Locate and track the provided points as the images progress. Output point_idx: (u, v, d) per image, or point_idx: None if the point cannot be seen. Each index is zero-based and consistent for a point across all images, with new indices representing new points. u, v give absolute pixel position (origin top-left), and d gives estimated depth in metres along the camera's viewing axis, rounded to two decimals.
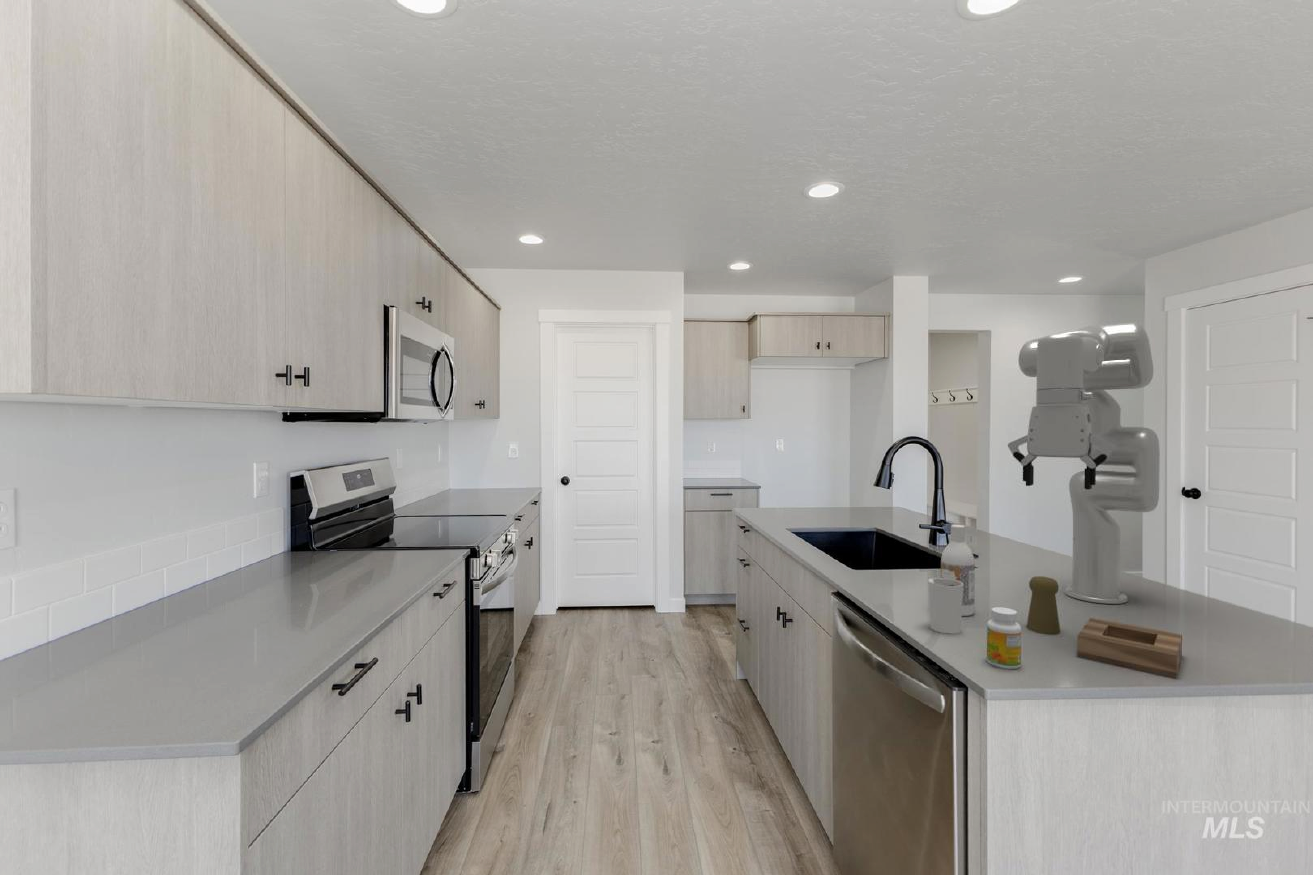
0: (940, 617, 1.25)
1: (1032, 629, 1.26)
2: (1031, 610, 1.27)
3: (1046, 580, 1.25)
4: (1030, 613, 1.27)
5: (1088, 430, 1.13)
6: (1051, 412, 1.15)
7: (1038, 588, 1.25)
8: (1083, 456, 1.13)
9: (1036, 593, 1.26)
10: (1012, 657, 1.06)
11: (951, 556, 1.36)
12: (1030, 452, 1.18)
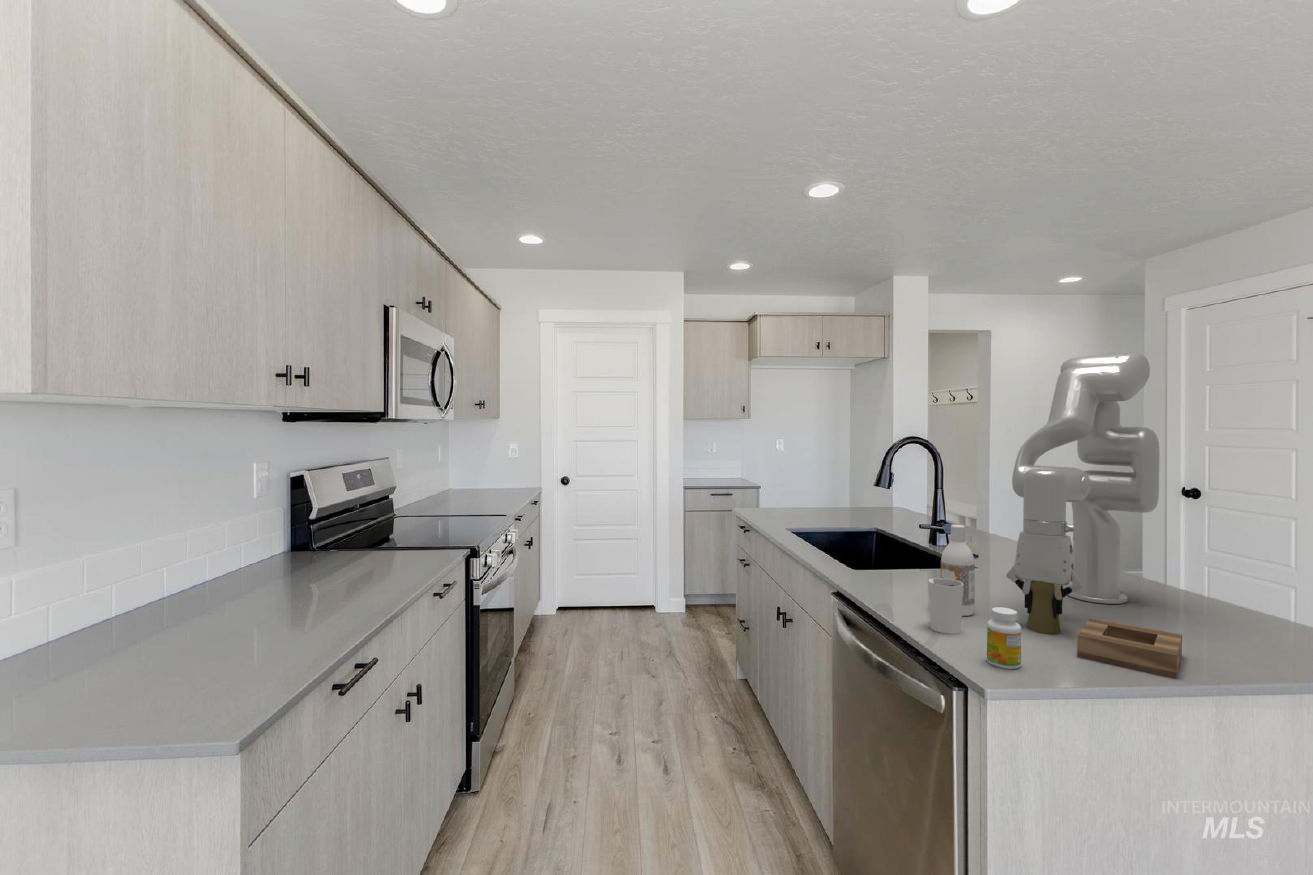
0: (940, 617, 1.25)
1: (1032, 629, 1.26)
2: (1031, 610, 1.27)
3: None
4: (1030, 613, 1.27)
5: (1070, 561, 1.22)
6: (1037, 541, 1.25)
7: (1039, 588, 1.25)
8: (1056, 587, 1.24)
9: (1036, 593, 1.26)
10: (1012, 657, 1.06)
11: (951, 556, 1.36)
12: (1017, 575, 1.28)
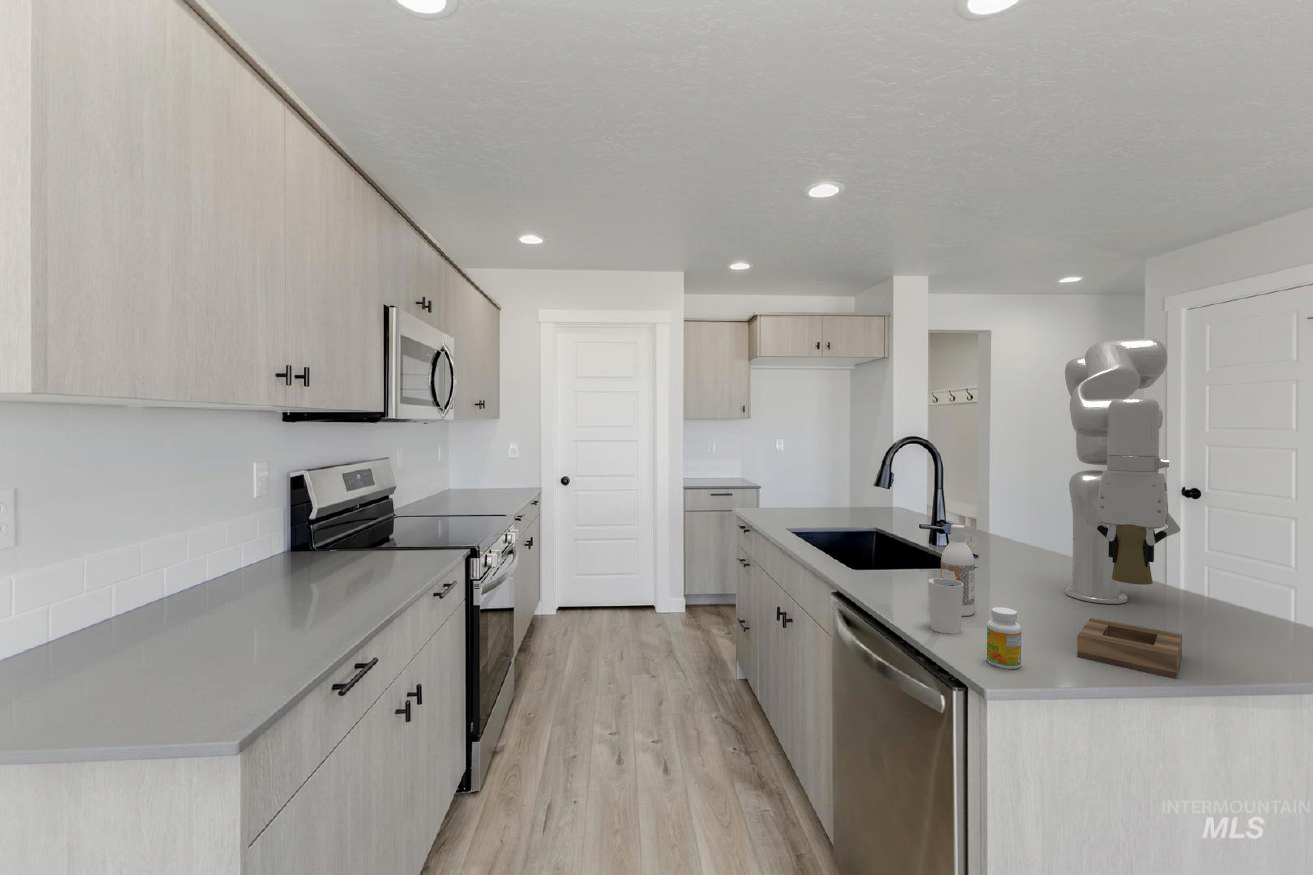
0: (940, 617, 1.25)
1: (1120, 580, 1.11)
2: (1118, 559, 1.12)
3: None
4: (1116, 562, 1.12)
5: (1165, 500, 1.07)
6: (1125, 479, 1.10)
7: (1127, 532, 1.10)
8: (1148, 531, 1.09)
9: (1124, 539, 1.11)
10: (1012, 657, 1.06)
11: (951, 556, 1.36)
12: (1101, 520, 1.13)
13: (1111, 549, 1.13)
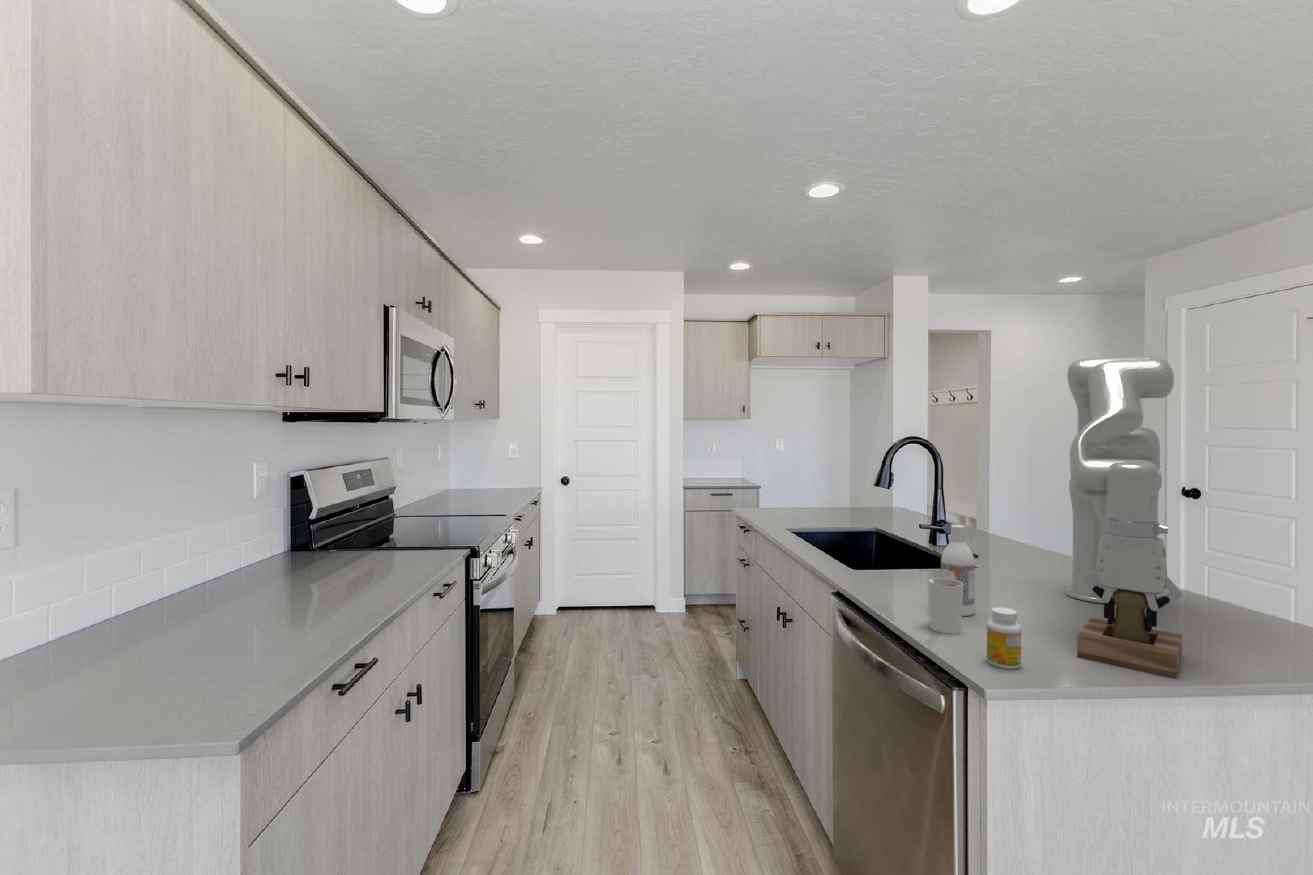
0: (940, 617, 1.25)
1: None
2: (1116, 627, 1.12)
3: (1134, 593, 1.10)
4: (1115, 631, 1.12)
5: (1164, 566, 1.08)
6: (1124, 544, 1.10)
7: (1125, 602, 1.10)
8: (1150, 596, 1.09)
9: (1122, 608, 1.11)
10: (1012, 657, 1.06)
11: (951, 556, 1.36)
12: (1100, 582, 1.14)
13: (1106, 610, 1.14)
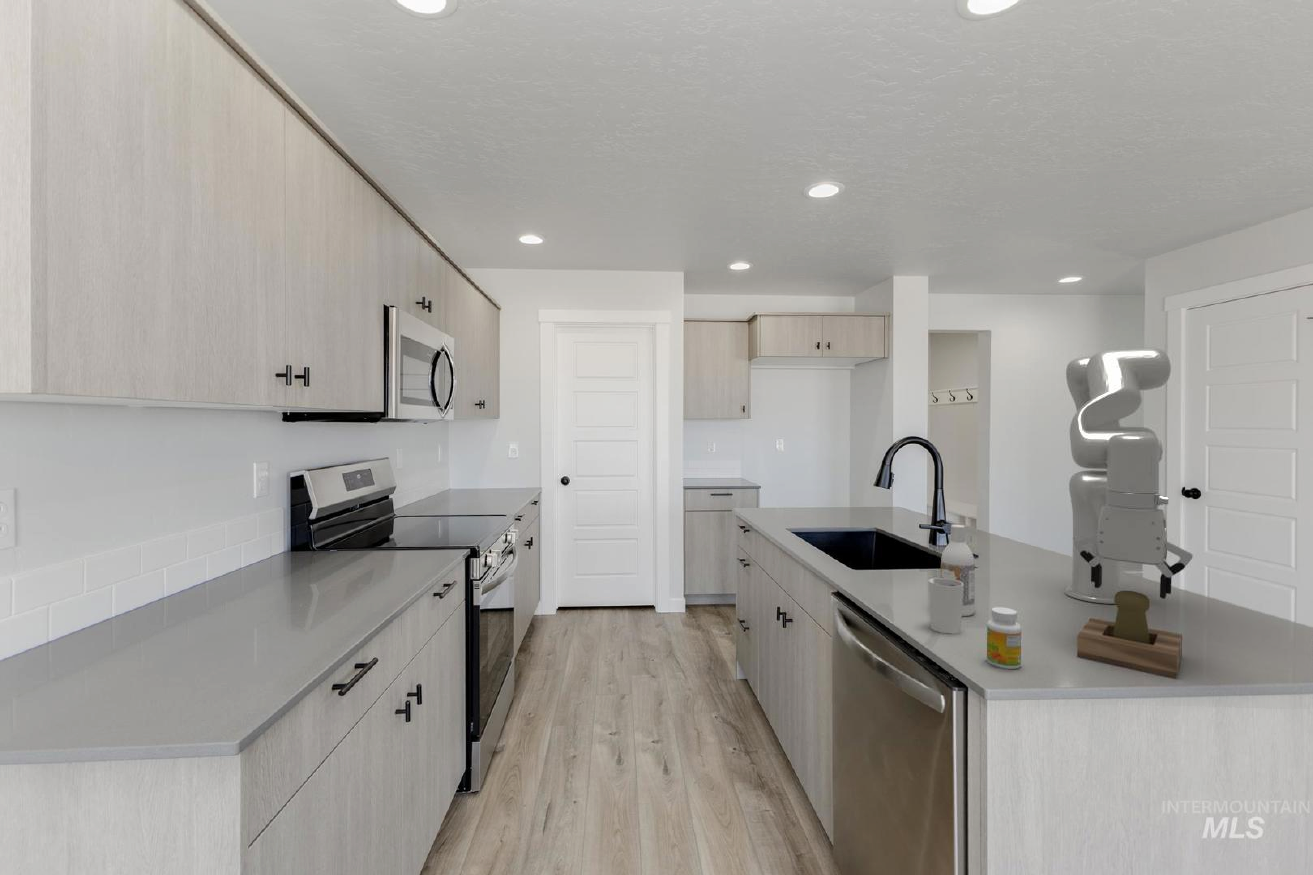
0: (940, 617, 1.25)
1: None
2: (1117, 629, 1.12)
3: (1136, 595, 1.10)
4: (1116, 632, 1.12)
5: (1164, 537, 1.08)
6: (1124, 515, 1.10)
7: (1127, 604, 1.10)
8: (1159, 564, 1.08)
9: (1123, 610, 1.11)
10: (1012, 657, 1.06)
11: (952, 556, 1.36)
12: (1100, 554, 1.14)
13: (1093, 574, 1.16)
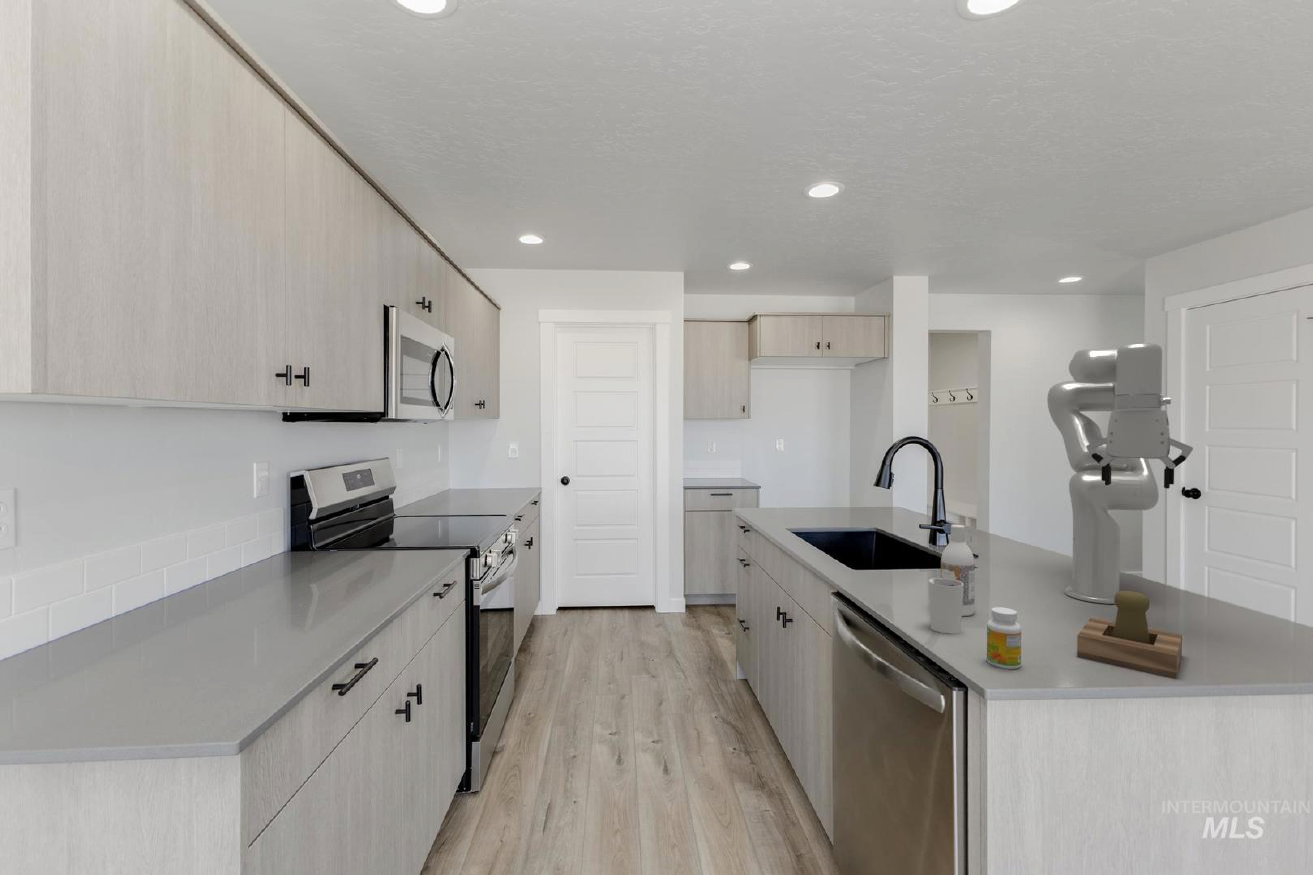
0: (940, 617, 1.25)
1: None
2: (1117, 629, 1.12)
3: (1136, 595, 1.10)
4: (1116, 632, 1.12)
5: (1167, 433, 1.21)
6: (1131, 416, 1.23)
7: (1127, 604, 1.10)
8: (1163, 457, 1.21)
9: (1123, 610, 1.11)
10: (1012, 657, 1.06)
11: (951, 556, 1.36)
12: (1109, 453, 1.27)
13: (1104, 473, 1.28)
